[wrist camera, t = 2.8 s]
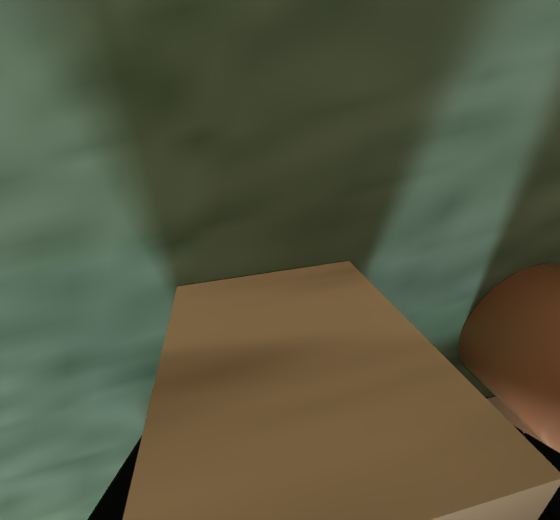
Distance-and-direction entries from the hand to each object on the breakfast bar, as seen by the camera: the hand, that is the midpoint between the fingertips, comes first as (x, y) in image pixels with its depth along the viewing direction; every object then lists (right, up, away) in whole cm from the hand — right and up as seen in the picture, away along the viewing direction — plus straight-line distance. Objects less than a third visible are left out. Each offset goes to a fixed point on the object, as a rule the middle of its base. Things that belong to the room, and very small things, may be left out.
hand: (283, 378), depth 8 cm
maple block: (0, +1, +1) cm, 2 cm away
